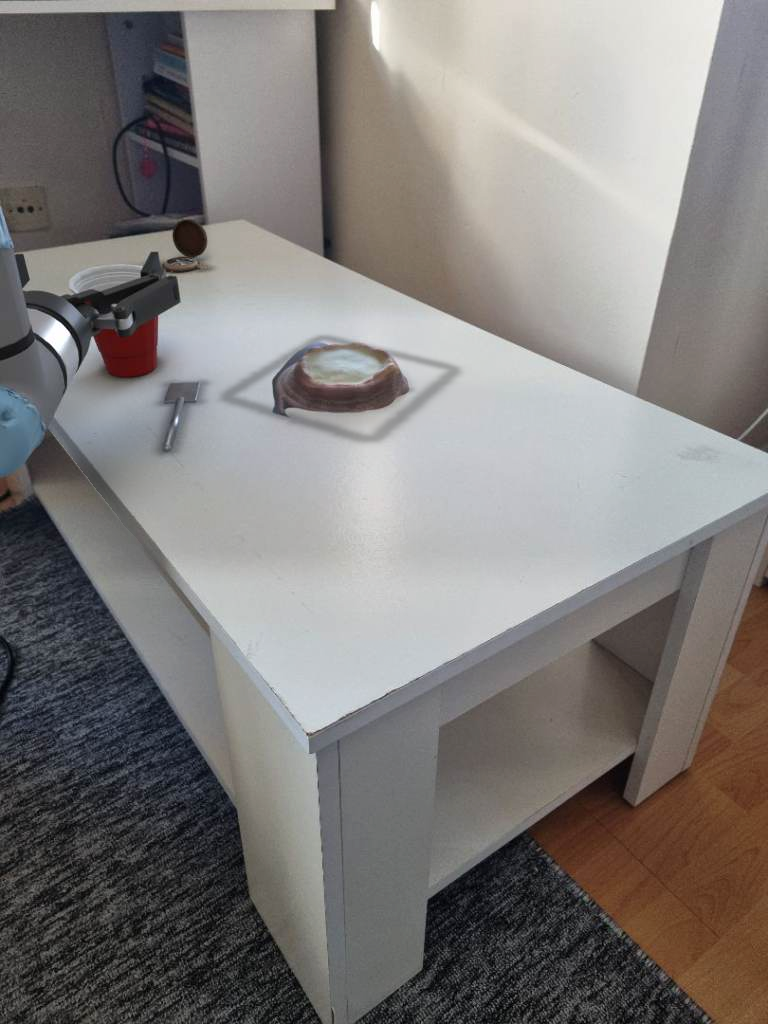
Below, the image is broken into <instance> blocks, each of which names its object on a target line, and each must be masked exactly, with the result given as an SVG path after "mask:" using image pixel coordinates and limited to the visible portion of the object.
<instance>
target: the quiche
mask: <svg viewBox="0 0 768 1024" xmlns="http://www.w3.org/2000/svg"><path fill="white" fill-rule="evenodd" d="M271 385H272V396H273V402H274V404H273V408H272V413H273V414H276V415H279V416H283V417H286V418H289V419H291V417H290V416H289V415H288V414H287V413H286V410H287V409H299V410H304V411H309V412H318V413H319V412H321V413H333V414H344V413H345V414H347V413H350V414H351V413H352V414H353V413H354V414H357V413H363V412H367V411H376V410H380V409H384V408H387V407H388V406H391V404H393V403H394V401H395V400H396V399H397V398H399V397H402V396H404V395H406V394H408V393H409V392H410V386H409V381H408V378H407V377H406V376H405V375H404V374H403V372H402V370H401V369H400V367H399V365H398V363H397V361H396V360H395V358H394V357H393V356H392V355H391V354H390V352H388V351H387V350H386V349H382V348H379V347H374V346H371V345H369V344H367V343H365V342H350V343H347V344H346V343H345V344H343V343H342V344H340V343H331V344H328V343H326V342H325V343H324V342H312V343H310V344H308V345H306V346H305V347H303V348H301V349H300V350H298V351H297V352H295V353H294V354H293V355H292V356H291V357H290V358H289V359H288V360H287V361H286V362H285V364H284V365H282V367H281V368H280V369H279V371H278V372H276V374H275V375H274V377H273V378H272V381H271Z"/></svg>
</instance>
